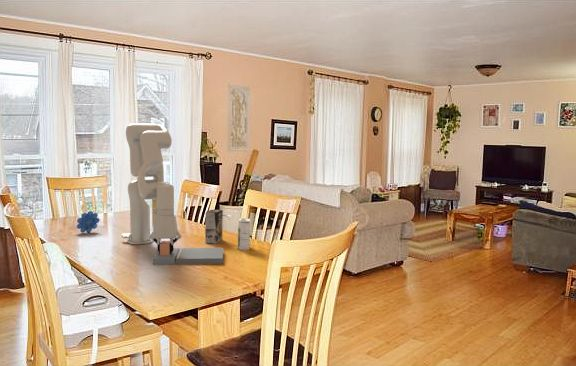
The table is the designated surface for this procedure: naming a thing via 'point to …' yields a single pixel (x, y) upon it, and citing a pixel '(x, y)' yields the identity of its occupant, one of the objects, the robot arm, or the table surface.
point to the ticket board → (199, 256)
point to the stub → (165, 254)
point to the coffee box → (213, 226)
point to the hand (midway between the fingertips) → (165, 252)
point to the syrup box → (244, 234)
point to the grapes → (88, 222)
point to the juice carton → (153, 209)
